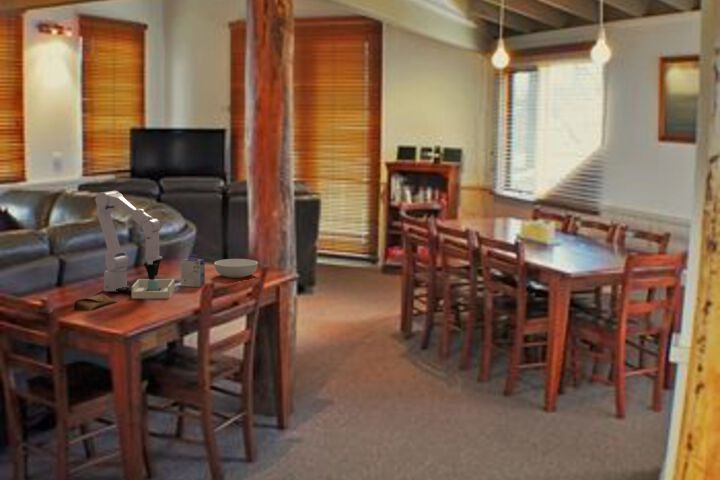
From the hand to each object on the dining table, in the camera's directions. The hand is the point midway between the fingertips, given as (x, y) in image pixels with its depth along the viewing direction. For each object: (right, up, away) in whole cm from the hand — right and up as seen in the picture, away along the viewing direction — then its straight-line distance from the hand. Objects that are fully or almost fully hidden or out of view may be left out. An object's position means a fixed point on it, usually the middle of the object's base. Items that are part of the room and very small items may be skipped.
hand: (153, 277), depth 378 cm
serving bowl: (+30, -1, +41) cm, 51 cm away
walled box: (0, -7, +1) cm, 7 cm away
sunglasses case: (-19, -11, -20) cm, 30 cm away
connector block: (0, -7, +1) cm, 8 cm away
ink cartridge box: (+14, -5, +19) cm, 24 cm away
